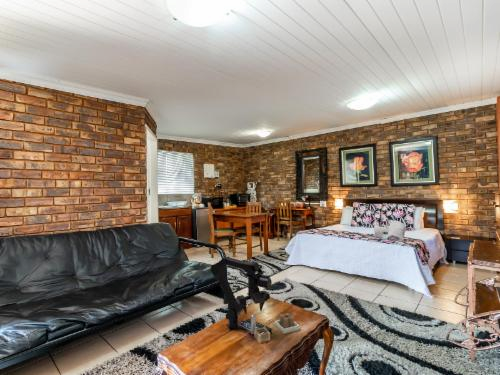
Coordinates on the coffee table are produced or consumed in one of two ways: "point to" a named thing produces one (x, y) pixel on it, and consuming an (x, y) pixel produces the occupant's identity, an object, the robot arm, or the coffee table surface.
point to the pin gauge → (253, 323)
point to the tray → (286, 330)
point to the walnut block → (286, 320)
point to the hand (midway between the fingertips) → (253, 312)
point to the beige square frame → (262, 335)
